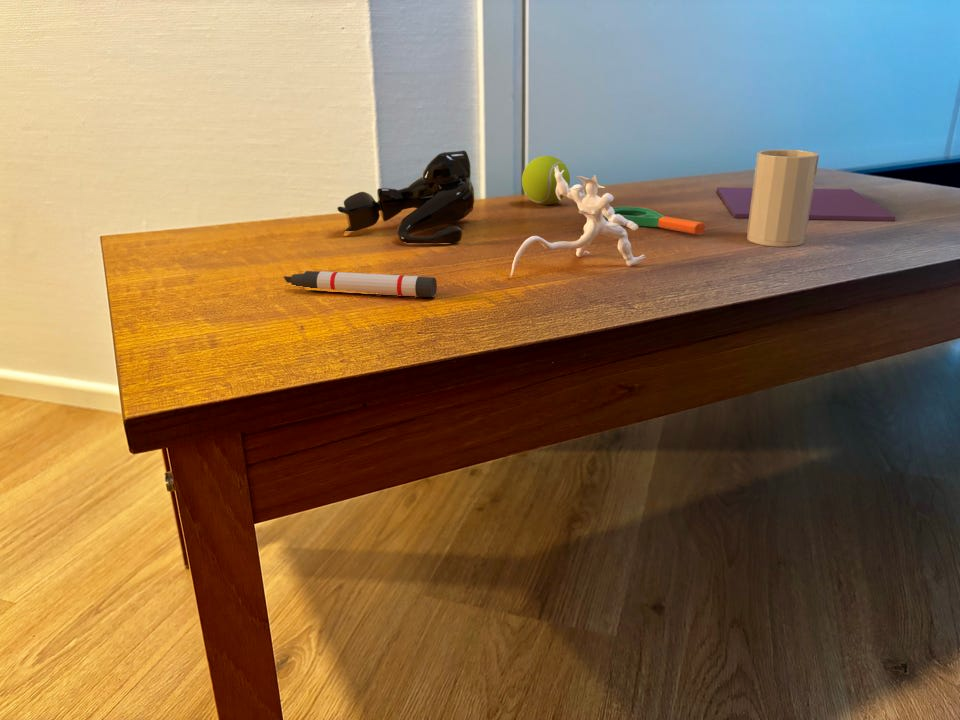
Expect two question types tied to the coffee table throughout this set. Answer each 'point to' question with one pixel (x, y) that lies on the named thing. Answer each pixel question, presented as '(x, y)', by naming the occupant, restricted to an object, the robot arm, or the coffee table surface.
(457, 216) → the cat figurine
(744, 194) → the mat
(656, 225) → the magnifying glass
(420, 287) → the marker
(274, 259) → the coffee table surface
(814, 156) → the pen cup
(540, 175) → the tennis ball
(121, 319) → the coffee table surface
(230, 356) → the coffee table surface
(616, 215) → the creature figurine
